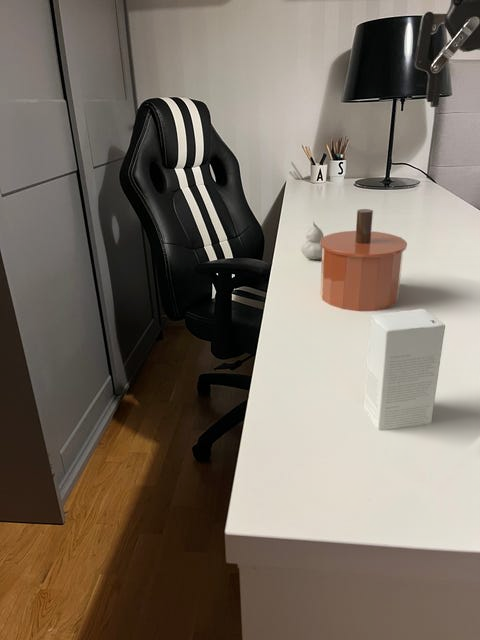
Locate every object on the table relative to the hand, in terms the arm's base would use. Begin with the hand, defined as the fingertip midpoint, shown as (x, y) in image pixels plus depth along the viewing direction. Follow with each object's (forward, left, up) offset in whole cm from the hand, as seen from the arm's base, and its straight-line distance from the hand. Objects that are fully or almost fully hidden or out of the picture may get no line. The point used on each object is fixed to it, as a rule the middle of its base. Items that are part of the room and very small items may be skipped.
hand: (469, 105), depth 63 cm
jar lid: (0, -14, -21) cm, 25 cm away
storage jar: (0, -14, -30) cm, 33 cm away
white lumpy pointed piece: (-13, -33, -30) cm, 47 cm away
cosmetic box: (+26, +8, -30) cm, 41 cm away
